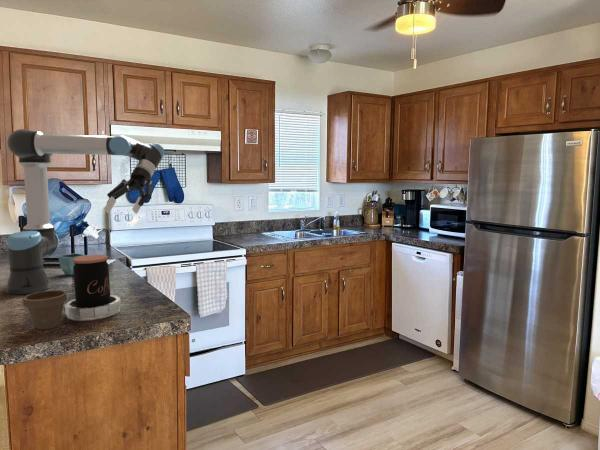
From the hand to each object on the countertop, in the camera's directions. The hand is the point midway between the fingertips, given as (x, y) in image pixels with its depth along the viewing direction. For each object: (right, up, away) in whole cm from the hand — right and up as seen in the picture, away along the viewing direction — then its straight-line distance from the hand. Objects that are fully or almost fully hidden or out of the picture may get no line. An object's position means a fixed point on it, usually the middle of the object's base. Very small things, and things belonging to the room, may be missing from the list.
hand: (120, 211), depth 183 cm
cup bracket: (+2, -35, -28) cm, 45 cm away
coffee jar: (+2, -34, -28) cm, 44 cm away
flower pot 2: (-35, -29, +34) cm, 57 cm away
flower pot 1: (-6, -37, -41) cm, 56 cm away
